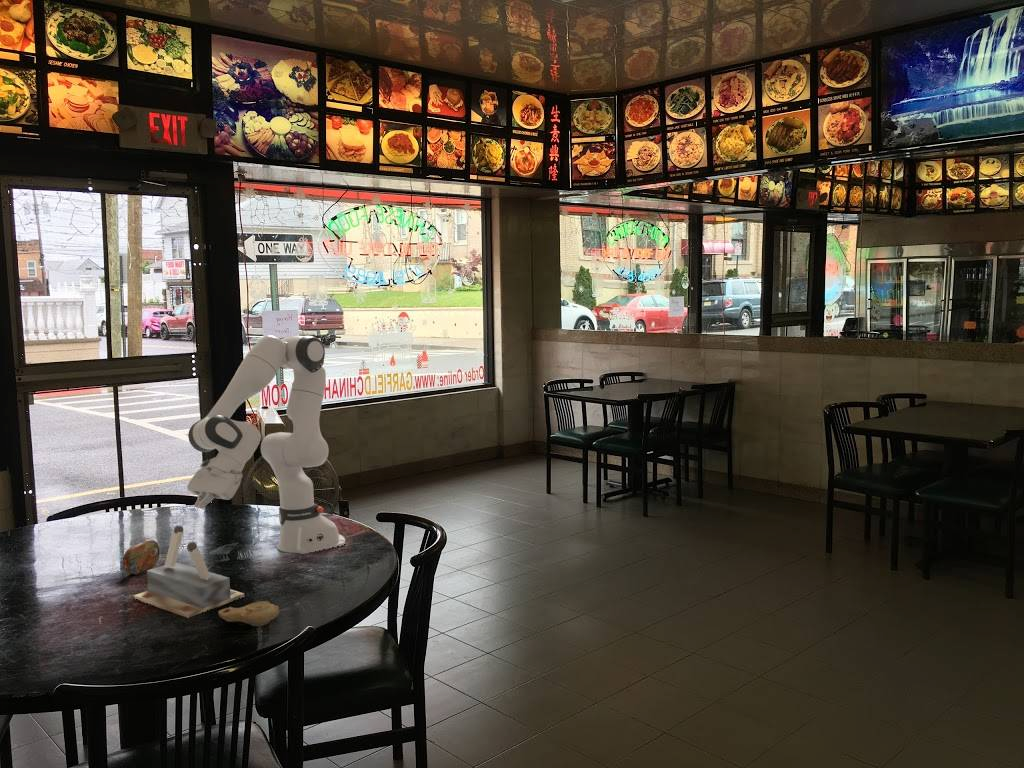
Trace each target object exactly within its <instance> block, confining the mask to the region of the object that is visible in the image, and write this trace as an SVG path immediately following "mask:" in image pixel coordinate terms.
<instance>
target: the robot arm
mask: <svg viewBox="0 0 1024 768" xmlns="http://www.w3.org/2000/svg"><path fill="white" fill-rule="evenodd" d="M245 355H246V356H244V358H243V360H242V361H241V363H240V365H239V366H238V368H237V370H236V371H235V374H234V376H233V377H232V378H231V381H230V382H229V383H228V385H227V387H226V389H225V390H224V392H223V393H222V394H221V395H220V397H219V399H218V400H217V401H216V403H214V405H213V407H212V408H211V409H210V410H209V412H208V413H207V414H206V415H205V416H204V417H202V418H201V419H200V420H198V421H196V422H195V423H193V424H192V425H191V427H190V428H189V431H188V442H189V444H190V446H192V447H193V448H194V449H195V450H196V451H198V452H201V453H209V452H212V451H213V450H217V451H218V453H217V454H216V456H214V457H212V458H211V459H209V460H204V461H202V463H201V464H200V465H199V467H200V468H199V469H198V470H197V471H196V472H195V473H194V475H193V476H192V477H191V478H190V480H189V482H188V484H187V488H186V489H187V490H188V492H190V493H191V494H192V495H195V496H197V499H196V501H195V503H194V504H193V505H194V507H195V508H197V509H201V510H204V509H205V508H206V506H207V505H208V504H210V503H211V502H212V501H213V500H214V499H220V500H226V501H227V500H228V501H229V500H231V499H232V498H233V497H234V496H235V494H236V492H238V491H237V490H238V489H239V487H240V485H241V482H242V479H243V477H244V475H243V472H242V471H243V470H244V468H245V464H247V462H248V461H249V460H250V459H251V458H252V457H253V455H254V453H255V452H256V450H257V449H258V447H259V445H260V453H261V456H262V458H263V459H264V460H265V461H266V462H267V463H268V464H269V465H270V467H271V469H272V471H273V473H274V476H275V478H276V481H277V484H278V485H277V486H278V493H279V503H280V506H279V507H278V517H279V518H278V520H279V521H278V522H279V524H280V532H279V539H278V545H277V550H278V551H280V552H285V553H295V554H302V555H306V554H310V552H311V553H315V551H316V552H319V550H320V551H324V550H323V549H325V550H330V549H333V548H332V547H334V548H338V547H337V546H339V547H342V545H343V546H344V544H345V545H346V543H345V542H346V538H345V537H344V536H343V535H342V534H339V530H338V527H337V526H336V524H335V522H334V521H332V520H330V519H329V518H327V517H326V516H324V515H322V513H324V508H323V507H322V505H321V506H320V505H318V504H317V503H315V501H314V500H315V499H314V484H313V480H311V477H308V476H307V475H306V473H305V472H304V470H303V468H313V467H314V468H316V467H319V466H322V465H323V464H324V463H325V462H326V461H327V459H328V457H329V454H330V453H329V451H330V450H329V445H328V443H327V441H326V439H325V438H324V437H323V436H322V433H321V429H320V428H321V427H320V416H321V410H322V404H323V399H324V396H325V395H324V394H325V392H326V391H325V390H326V379H327V378H326V377H327V375H326V370H325V368H324V367H323V365H324V363H325V357H326V351H325V346H324V343H323V342H322V340H321V339H319V338H318V337H316V336H313V335H293V336H287V337H278V336H274V335H265V336H263V337H262V338H260V339H259V340H258V341H257V342H256V343H255V344H253V346H252V348H251V349H250V350H249V351H248V352H247V354H245ZM280 369H283V370H287V369H288V370H292V372H293V381H292V385H291V388H290V393H289V397H288V402H287V405H286V412H285V413H286V415H287V417H288V419H290V420H291V421H292V425H293V426H292V427H293V430H292V432H283V431H279V432H273V433H269V434H267V435H266V436H265V437H264V438H263V439H262V435H261V432H260V430H259V429H258V427H257V426H256V425H255V424H252V423H251V422H249V421H239V420H235V419H231V418H232V416H233V414H234V413H236V410H237V409H238V408H239V407H240V406H241V405H242V404H243V403H244V402H246V401H247V400H248V399H250V398H252V397H253V396H255V395H257V394H259V393H261V392H262V391H264V390H265V389H266V388H267V387H268V386H269V385H270V384H271V382H272V381H273V379H274V378H275V377H276V375H277V374H278V372H279V370H280ZM261 439H262V441H261ZM260 442H261V444H260ZM329 548H330V549H329Z"/></svg>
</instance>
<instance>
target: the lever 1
mask: <svg viewBox="0 0 1024 768" xmlns="http://www.w3.org/2000/svg"><path fill="white" fill-rule="evenodd" d="M183 535H184V528H183V526H182V525H176V526H175V527H174V528H173V531H172V533H171V537H170V540H169V541H170V542H169V544H168V545H169V546H168V550H167V553H166V559H165V562H164V565H168V566H171V567H175V564H176V562H177V559H178V555H179V552H180V548H181V545H182V544H181V543H182V539H183Z"/></svg>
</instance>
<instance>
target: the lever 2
mask: <svg viewBox="0 0 1024 768" xmlns="http://www.w3.org/2000/svg"><path fill="white" fill-rule="evenodd" d="M186 549H187V552H188V553H189V556H190V558H191V560H192V563H193V565H194V568H196V569H197V572H198V574H199V576H200V578H201V579H205V580H208V579H209V578H210V577H211V576H210V574H209V572H210V571H209V570H208V567H207V565H206V563H205V560H204V558H203V556H202V554H201V551H200V549H199V547H198V545H197V542H193V541H191V542H188V543H187V544H186Z"/></svg>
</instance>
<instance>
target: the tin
mask: <svg viewBox="0 0 1024 768" xmlns="http://www.w3.org/2000/svg"><path fill="white" fill-rule="evenodd" d="M159 558H160V546H159V544H158V542H157V541H156V540H154V539H151V540H144V541H142V542H140V543H138V544H136V545H133V546H132V547H130V548H128V549H127V550H126V551H125V552H124V555H123V557H122V563H123V569H124V571H125V573H127V574H129V575H139V574H138V573H140V572H141V573H143V572H145V571H147V570H150V569H151V568H153V567H155V565H156V564H157V563H158V561H159ZM150 567H151V568H150ZM142 571H143V572H142ZM141 573H140V574H141Z"/></svg>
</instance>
